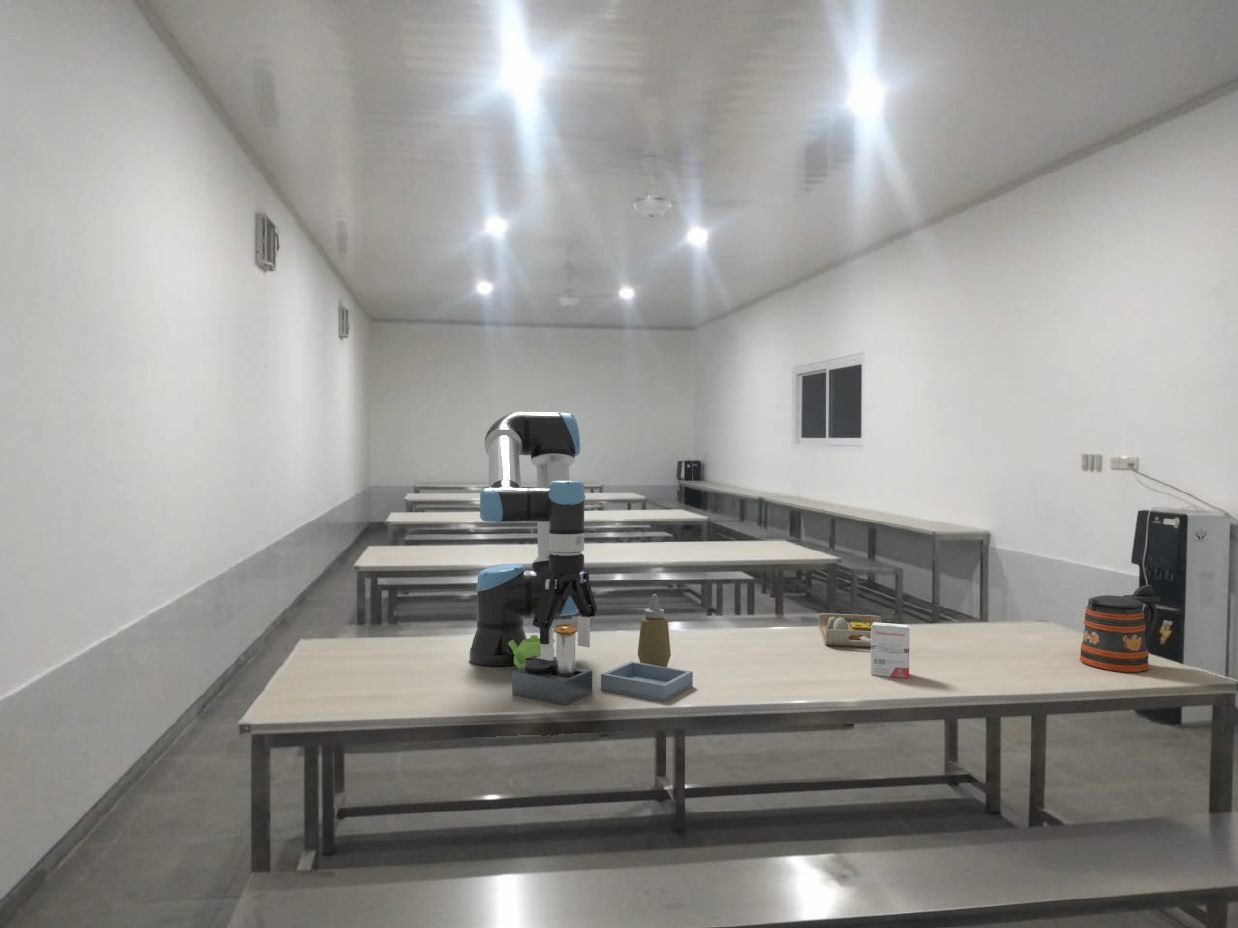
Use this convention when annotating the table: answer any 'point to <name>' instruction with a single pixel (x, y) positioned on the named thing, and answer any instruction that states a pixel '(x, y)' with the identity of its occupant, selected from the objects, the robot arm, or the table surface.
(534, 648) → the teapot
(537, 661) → the grey boxy piece
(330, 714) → the table surface
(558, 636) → the glass jar with lid
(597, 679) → the table surface
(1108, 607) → the beer stein
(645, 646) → the squeeze bottle
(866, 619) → the toy food set
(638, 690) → the parts tray
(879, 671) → the ink box
